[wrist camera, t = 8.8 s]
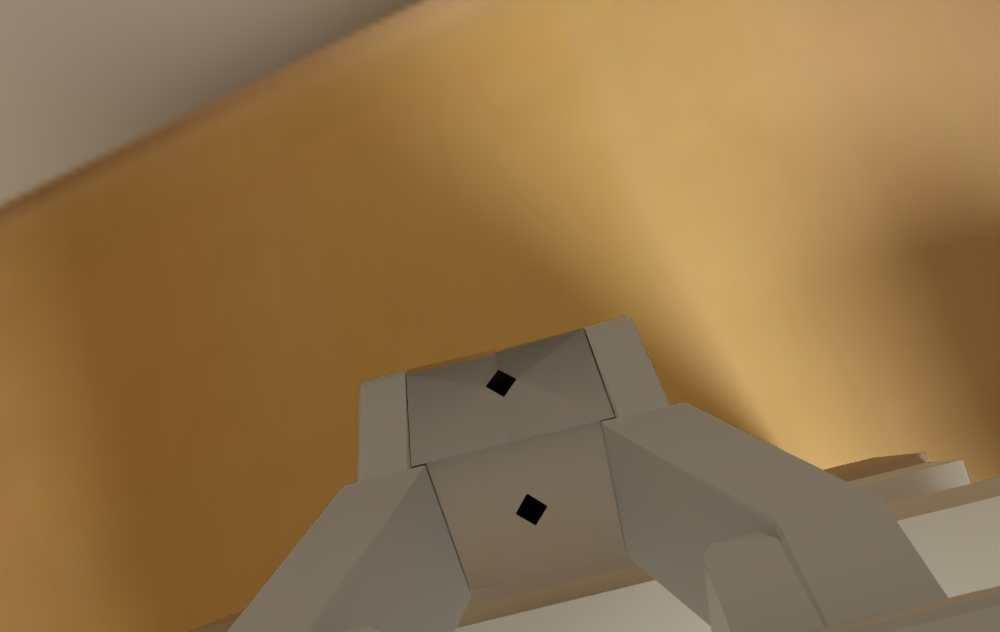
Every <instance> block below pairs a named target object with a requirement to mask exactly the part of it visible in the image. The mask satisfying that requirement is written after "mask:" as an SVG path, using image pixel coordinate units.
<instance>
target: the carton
mask: <svg viewBox="0 0 1000 632" xmlns="http://www.w3.org/2000/svg"><path fill="white" fill-rule="evenodd" d="M824 471H826V472H828V473H830V474H832V475H834V476H836V477H838V478H840V479H842V480H844V481H846V482H848V483H850V484H852V485H854V486H856V487H858V488H860V489H862V490H864V491H867V492H869V493H871V494H873V495H875V496H877V497H879V498H881V499H882V500H883V501H884V503H885V504H890V503H894V502H898V501H902V500H906V499H910V498H914V497H918V496H922V495H926V494H931V493H935V492H939V491H943V490H947V489H951V488H955V487H959V486H963V485H967V484H971V483H970V480H969V477H968V474H967V471H966V468H965V465H964V462H963V460H954V461H941V462H929V461H928V458H927V455H926V452H925V453H915V454H906V455H896V456H886V457H876V458H870V459H866V460H862V461H858V462H854V463H850V464H846V465H842V466H837V467H833V468H829V469H825V470H824ZM635 565H637V564H636V563H635V562H634V561H632V560H631V559H630V558H629V557H628V555H627V553H624V554H620V555H615V556H610V557H606V558H601V559H597V560H592V561H587V562H583V563H578V564H573V565H569V566H564V567H559V568H555V569H550V570H546V571H542V572H538V573H535V574H531V575H527V576H523V577H520V578H516V579H512V580H509V581H505V582H501V583H498V584H494V585H490V586H487V587H483V588H479V589H476V590H472V591H470V593H471V597H470V599H469V601H468V604H467V606H471V605H475V604H479V603H484V602H488V601H492V600H496V599H500V598H504V597H508V596H512V595H516V594H520V593H525V592H529V591H533V590H537V589H541V588H545V587H549V586H553V585H557V584H561V583H566V582H570V581H574V580H578V579H582V578H586V577H590V576H594V575H598V574H602V573H607V572H611V571H615V570H619V569H623V568H627V567H631V566H635ZM547 568H548V567H547ZM467 606H466V607H467ZM241 614H242V612H241V613H237V614H234V615H231V616H229V617H226V618H223V619H221V620H218V621H216V622H213V623H210V624H208V625H205V626H203V627H200V628H197V629H195V630H192V631H190V632H227V631H228V630H229V629H230V627H231V626H232V625H233V624H234V622H235V621H236V620H237V619H238V617H239V616H240V615H241Z"/></svg>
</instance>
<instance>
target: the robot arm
mask: <svg viewBox="0 0 1000 632" xmlns="http://www.w3.org/2000/svg"><path fill="white" fill-rule="evenodd" d="M624 553H627V555H628V557H629V558H630V559H631V560H632V561H634V562H635V563H636V564H637V565H638V566H639V567H641V568H642V569H643V570H644V571H645V572H647V573H648V574H649V575H650V576H651V577H653V578H654V579H655V580H656V581H657V582H658V583H660V584H661V585H662V586H663V587H664V588H666V589H667V590H668V591H669V592H670V593H671V594H673V595H674V596H675V597H676V598H677V599H679V600H680V601H681V602H682V603H683V604H685V605H686V606H687V607H688V608H689V609H690V610H692V611H693V612H694V613H695V614H696V615H698V616H699V617H700V618H701V619H702V620H703V621H705V622H706V623H707V624H708V625H709V626H711V631H712V632H1000V586H996V587H991V588H987V589H983V590H979V591H975V592H971V593H967V594H962V595H958V596H954V597H950V598H948V596H947V595H946V594H945V592H944V591H943V589H942V588H941V586H940V585H939V583H938V582H937V580H936V579H935V577H934V576H933V574H932V573H931V571H930V570H929V568H928V567H927V565H926V564H925V562H924V561H923V559H922V558H921V556H920V555H919V553H918V552H917V550H916V549H915V547H914V546H913V544H912V543H911V541H910V540H909V538H908V537H907V536H906V534H905V533H904V531H903V530H902V528H901V527H900V525H899V524H898V522H897V521H896V519H895V518H894V516H893V515H892V513H891V512H890V510H889V509H888V507H887V506H886V504H885V503H884V501H883V500H882V499H881V498H879V497H877V496H875V495H873V494H871V493H869V492H867V491H864V490H862V489H860V488H858V487H856V486H854V485H852V484H850V483H848V482H846V481H844V480H842V479H840V478H838V477H836V476H834V475H832V474H830V473H828V472H826V471H824V470H822V469H820V468H818V467H816V466H814V465H812V464H810V463H808V462H806V461H803V460H801V459H799V458H797V457H795V456H793V455H791V454H789V453H787V452H785V451H783V450H781V449H779V448H777V447H775V446H773V445H771V444H769V443H767V442H765V441H763V440H761V439H759V438H757V437H755V436H753V435H751V434H749V433H747V432H745V431H743V430H740V429H738V428H736V427H734V426H732V425H730V424H728V423H726V422H724V421H722V420H720V419H718V418H716V417H714V416H712V415H710V414H708V413H706V412H704V411H702V410H700V409H698V408H696V407H694V406H692V405H690V404H688V403H686V402H681V403H677V404H673V405H671V404H670V402H669V400H668V398H667V395H666V393H665V391H664V389H663V387H662V384H661V382H660V380H659V378H658V376H657V374H656V371H655V369H654V367H653V365H652V363H651V360H650V358H649V356H648V354H647V352H646V349H645V347H644V345H643V343H642V341H641V338H640V336H639V334H638V332H637V330H636V327H635V325H634V323H633V321H632V319H631V318H630V317H628V316H626V315H625V316H622V317H618V318H614V319H611V320H607V321H604V322H600V323H597V324H593V325H589V326H586V327H583V329H579V330H575V331H571V332H568V333H564V334H560V335H556V336H552V337H548V338H544V339H541V340H537V341H533V342H529V343H525V344H521V345H517V346H513V347H510V348H506V349H502V350H498V351H495V350H494V351H489V352H485V353H480V354H476V355H471V356H467V357H462V358H458V359H454V360H449V361H445V362H440V363H436V364H431V365H427V366H422V367H418V368H413V369H409V370H408V371H407V372H406V371H400V372H396V373H392V374H388V375H384V376H380V377H376V378H372V379H368V380H364V381H363V382H362V383H361V385H360V387H359V395H358V441H357V482H354V483H350V484H346V485H343V486H342V488H341V489H340V490H339V491H338V493H337V494H336V495H335V496H334V498H333V499H332V500H331V501H330V503H329V504H328V505H327V507H326V508H325V509H324V510H323V512H322V513H321V514H320V515H319V517H318V518H317V519H316V520H315V522H314V523H313V524H312V525H311V527H310V528H309V529H308V530H307V532H306V533H305V534H304V535H303V537H302V538H301V539H300V540H299V542H298V543H297V544H296V546H295V547H294V548H293V549H292V551H291V552H290V553H289V554H288V556H287V557H286V558H285V559H284V561H283V562H282V563H281V564H280V566H279V567H278V568H277V569H276V571H275V572H274V573H273V574H272V576H271V577H270V578H269V580H268V581H267V582H266V583H265V585H264V586H263V587H262V588H261V590H260V591H259V592H258V593H257V595H256V596H255V597H254V598H253V600H252V601H251V602H250V603H249V605H248V606H247V607H246V608H245V610H244V611H243V612H242V614H241V615H240V616H239V617H238V619H237V620H236V621H235V622H234V624H233V625H232V626H231V627H230V629H229V630H228V631H227V632H455V630H456V628H457V626H458V623H459V621H460V619H461V617H462V615H463V612H464V610H465V608H466V606H467V604H468V601H469V599H470V597H471V593H470V591H472V590H476V589H479V588H483V587H487V586H490V585H494V584H498V583H501V582H505V581H509V580H512V579H516V578H520V577H523V576H527V575H531V574H535V573H538V572H542V571H546V570H550V569H555V568H559V567H564V566H569V565H573V564H578V563H583V562H587V561H592V560H597V559H601V558H606V557H610V556H615V555H620V554H624ZM547 567H548V568H547Z"/></svg>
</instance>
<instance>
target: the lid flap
mask: <svg viewBox="0 0 1000 632" xmlns="http://www.w3.org/2000/svg"><path fill="white" fill-rule="evenodd" d="M886 506H887V507H888V509H889V510H890V512H891V513H892V515H893V516H894V518H895V519H896V521H897V522H898V524H899V525H900V527H901V528H902V530H903V531H904V533H905V534H906V536H907V537H908V538H909V540H910V541H911V543H912V544H913V546H914V547H915V549H916V550H917V552H918V553H919V555H920V556H921V558H922V559H923V561H924V562H925V564H926V565H927V567H928V568H929V570H930V571H931V573H932V574H933V576H934V577H935V579H936V580H937V582H938V583H939V585H940V586H941V588H942V589H943V591H944V592H945V594H946V595H947V596H948V598H950V597H954V596H958V595H962V594H967V593H971V592H975V591H979V590H983V589H987V588H991V587H996V586H1000V477H996V478H992V479H988V480H984V481H980V482H976V483H972V484H967V485H963V486H959V487H955V488H951V489H947V490H943V491H939V492H935V493H931V494H926V495H922V496H918V497H914V498H910V499H906V500H902V501H898V502H894V503H890V504H886ZM455 632H712V631H711V626H709V625H708V624H707V623H706V622H705V621H703V620H702V619H701V618H700V617H699V616H698V615H696V614H695V613H694V612H693V611H692V610H690V609H689V608H688V607H687V606H686V605H685V604H683V603H682V602H681V601H680V600H679V599H677V598H676V597H675V596H674V595H673V594H671V593H670V592H669V591H668V590H667V589H666V588H664V587H663V586H662V585H661V584H660V583H658V582H657V581H656V580H655V579H654V578H653V577H651V576H650V575H649V574H648V573H647V572H645V571H644V570H643V569H642V568H641V567H639V566H638V565H635V566H631V567H627V568H623V569H619V570H615V571H611V572H607V573H602V574H598V575H594V576H590V577H586V578H582V579H578V580H574V581H570V582H566V583H561V584H557V585H553V586H549V587H545V588H541V589H537V590H533V591H529V592H525V593H520V594H516V595H512V596H508V597H504V598H500V599H496V600H492V601H488V602H484V603H479V604H475V605H471V606H467V607H466V608H465V610H464V612H463V615H462V617H461V619H460V621H459V623H458V626H457V628H456V630H455Z"/></svg>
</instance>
